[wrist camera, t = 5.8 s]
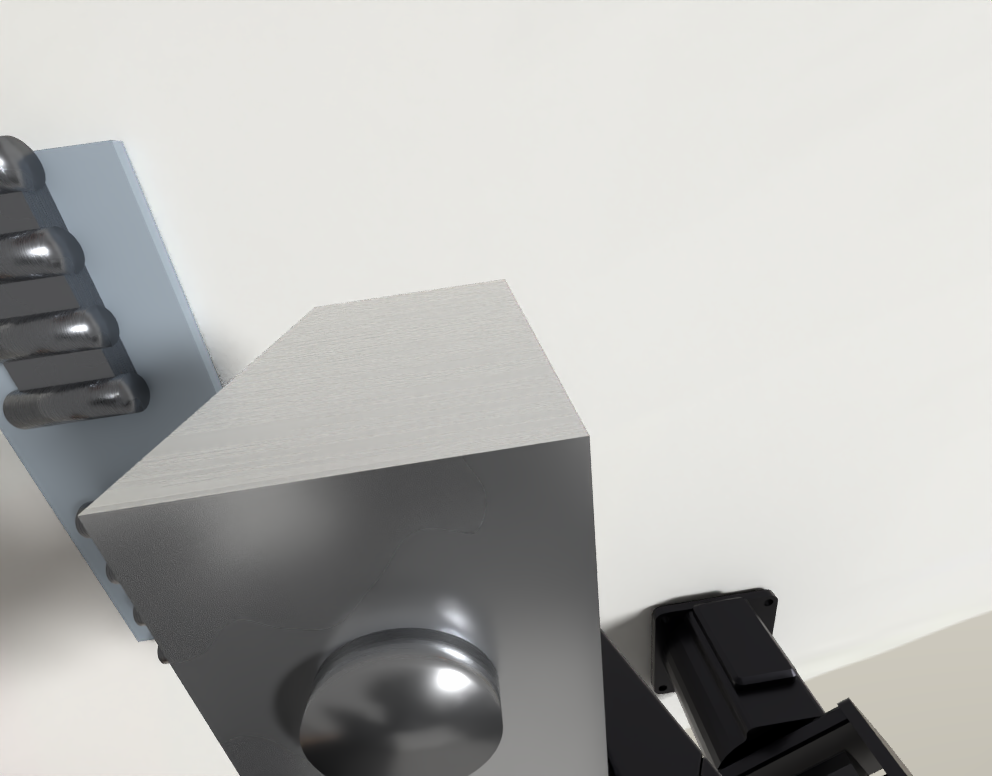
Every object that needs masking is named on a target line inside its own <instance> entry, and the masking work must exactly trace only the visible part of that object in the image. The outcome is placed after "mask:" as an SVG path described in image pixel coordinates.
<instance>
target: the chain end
mask: <svg viewBox="0 0 992 776" xmlns="http://www.w3.org/2000/svg"><path fill="white" fill-rule="evenodd" d="M45 181H46V176H45V171H44V168H43V166H42V164H41V162H40V160H39V158H38V157H37V155H36V154H35V153H34V152H33V151H32V150H31V148H30V147H28V146H27V145H26V144H25V143H24V142H22V141H21V140H19V139H17V138H15V137H12V136H0V363H3V365H4V367H5V368H6V370H7V371H8V373H9V375H10V376H11V378H12V380H13V381H14V383H15V385H16V386H17V388H18V390H14V391H12V392H10V393H9V394H8V395H7V396H6V397H5V399H4V402H3V413H4V416H5V418H6V419H7V421H8V422H9V423H10V424H11V425H13V426H14V427H16V428H19V429H24V430H26V429H34V428H40V427H47V426H54V425H60V424H67V423H73V422H80V421H87V420H93V419H100V418H107V417H113V416H120V415H126V414H133V413H139V412H142V411H144V410H145V409H146V408H147V407H148V405H149V401H150V391H149V388H148V385H147V383H146V382H145V380H144V379H143V378H142V377H141V376H140V375H138V374H137V372H136V370H135V368H134V365H133V363H132V361H131V359H130V357H129V355H128V353H127V351H126V349H125V347H124V345H123V343H122V341H121V339H120V336H119V334H120V332H119V326H118V323H117V320H116V318H115V317H114V315H113V314H112V313H111V312H110V311H109V310H108V309H107V308H106V307H105V305H104V303H103V301H102V299H101V297H100V295H99V293H98V291H97V289H96V287H95V285H94V283H93V281H92V278H91V276H90V274H89V272H88V270H87V268H86V266H85V256H84V252H83V249H82V247H81V245H80V244H79V242H78V241H77V239H76V238H75V237H74V236H73V235H72V234H71V233H70V232H69V231H68V229H67V227H66V225H65V223H64V220H63V218H62V216H61V214H60V212H59V210H58V208H57V206H56V204H55V202H54V200H53V198H52V196H51V194H50V191H49V189H48V187H47V185H46V183H45Z"/></svg>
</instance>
